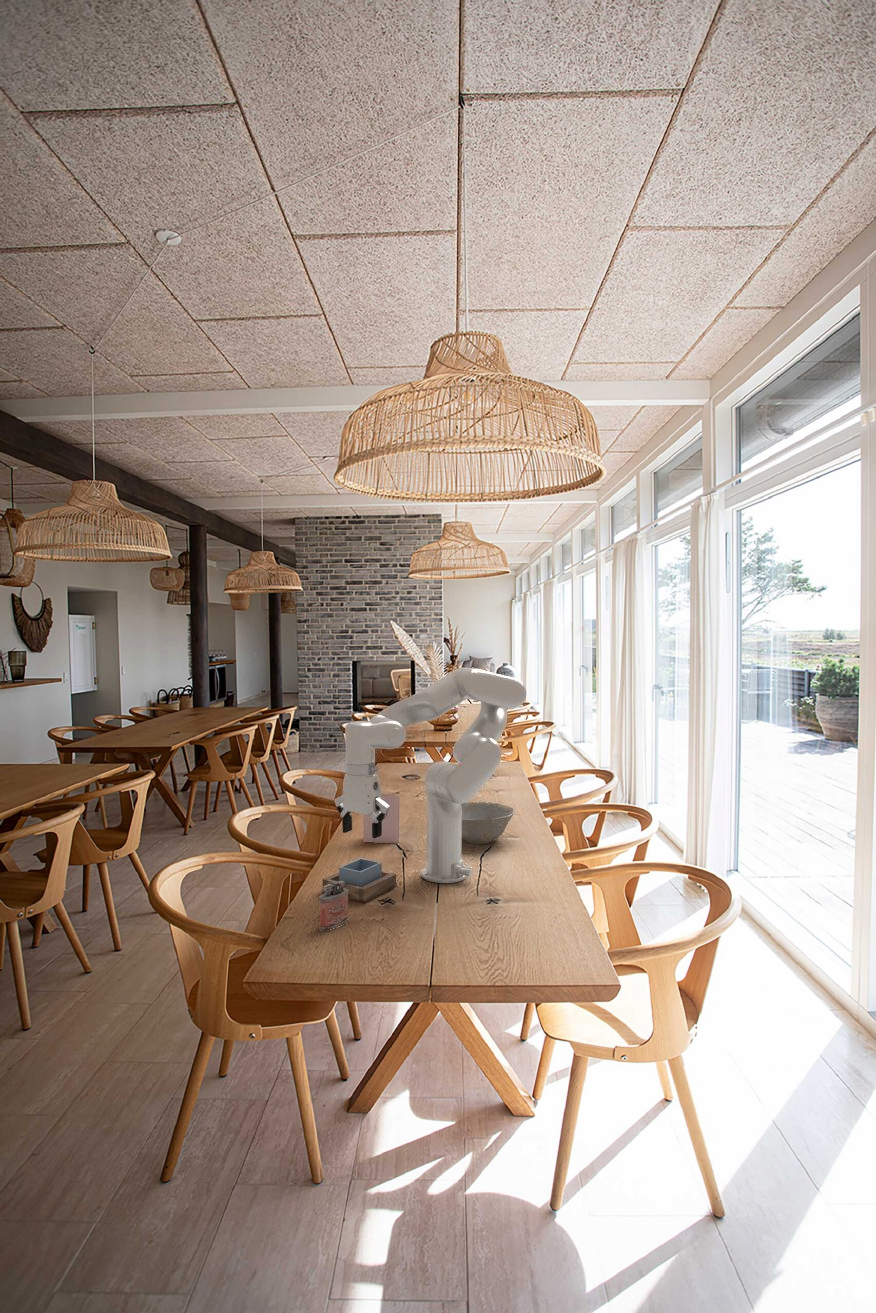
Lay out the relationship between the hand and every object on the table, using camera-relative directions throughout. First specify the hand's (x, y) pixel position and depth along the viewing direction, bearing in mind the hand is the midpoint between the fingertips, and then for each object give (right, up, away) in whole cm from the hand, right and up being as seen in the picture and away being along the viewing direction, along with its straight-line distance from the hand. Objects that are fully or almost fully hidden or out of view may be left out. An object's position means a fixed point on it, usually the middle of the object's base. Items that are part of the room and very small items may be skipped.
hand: (362, 834), depth 187 cm
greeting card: (+1, -13, +43) cm, 45 cm away
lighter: (-4, -16, -22) cm, 27 cm away
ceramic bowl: (+33, -13, +45) cm, 58 cm away
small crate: (0, -14, 0) cm, 14 cm away
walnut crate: (-1, -15, 0) cm, 15 cm away
